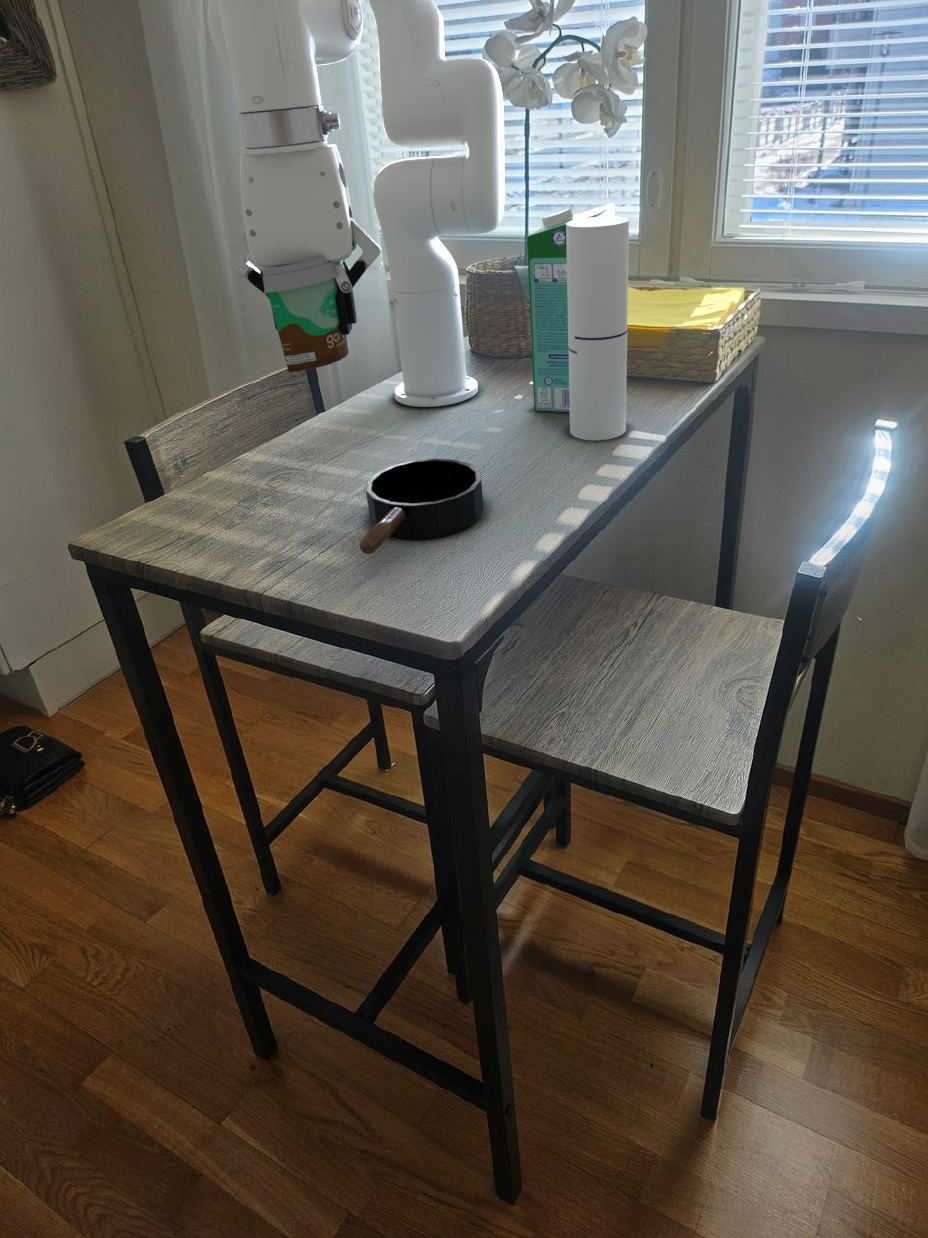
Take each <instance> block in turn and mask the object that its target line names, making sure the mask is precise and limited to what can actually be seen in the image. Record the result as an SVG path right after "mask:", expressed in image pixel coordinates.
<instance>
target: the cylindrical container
mask: <svg viewBox="0 0 928 1238" xmlns="http://www.w3.org/2000/svg"><path fill="white" fill-rule="evenodd" d="M629 241H630V219H629V218H628V217H625V216H616V215H614V216H603V217H590V218H582V219H577V220H572V221H569V222H567V223H566V243H567V297H568V347H569V400H570V412H569V433H570V434H571V436H573V437H575V438H577V439H579V440H585V441H606V440H607V441H608V440H611V439H616V438H618V437H620V436H622V435H624V434H625V432H626V430H627V376H628V375H627V369H628V368H627V365H628V364H627V363H628V362H627V361H628V358H627V357H628V314H629V313H628V312H629V311H628V307H629V305H628V304H629V302H628V301H629V248H630V247H629V243H630V242H629Z"/></svg>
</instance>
